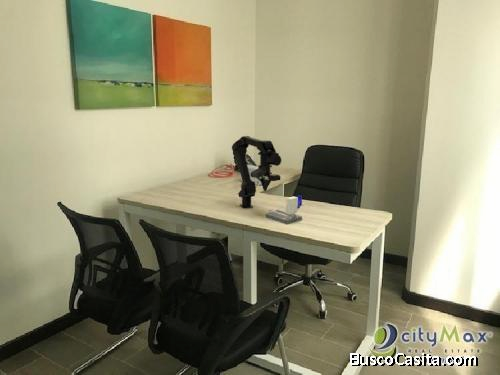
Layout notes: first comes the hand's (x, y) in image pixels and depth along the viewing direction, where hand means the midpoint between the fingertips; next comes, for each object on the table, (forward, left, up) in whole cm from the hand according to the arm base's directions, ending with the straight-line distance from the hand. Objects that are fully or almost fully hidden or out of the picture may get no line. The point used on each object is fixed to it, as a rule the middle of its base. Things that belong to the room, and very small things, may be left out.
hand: (264, 190), depth 226 cm
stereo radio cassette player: (-79, +17, -13) cm, 82 cm away
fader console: (+12, +7, -13) cm, 19 cm away
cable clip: (-8, +23, -14) cm, 28 cm away
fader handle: (+17, +9, -11) cm, 22 cm away
